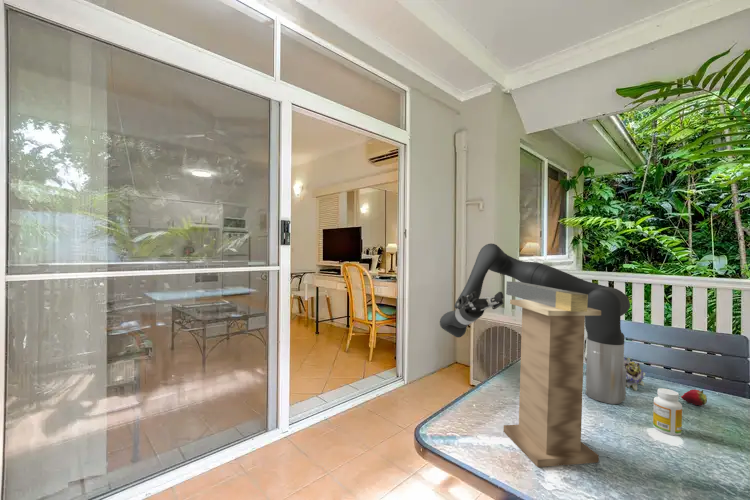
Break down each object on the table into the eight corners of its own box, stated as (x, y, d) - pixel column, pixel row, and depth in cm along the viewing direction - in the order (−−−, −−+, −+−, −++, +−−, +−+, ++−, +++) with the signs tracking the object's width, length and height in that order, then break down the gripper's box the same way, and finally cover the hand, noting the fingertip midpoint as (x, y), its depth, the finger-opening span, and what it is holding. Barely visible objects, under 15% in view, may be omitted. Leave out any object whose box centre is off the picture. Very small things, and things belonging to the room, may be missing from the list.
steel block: (518, 294, 90) (518, 281, 90) (587, 311, 66) (587, 294, 66) (505, 294, 90) (506, 281, 90) (570, 311, 66) (571, 294, 66)
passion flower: (633, 406, 106) (627, 381, 102) (599, 386, 116) (593, 363, 112) (655, 384, 109) (650, 359, 104) (620, 367, 119) (614, 343, 114)
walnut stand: (554, 427, 82) (558, 299, 82) (600, 463, 69) (605, 310, 68) (502, 430, 80) (506, 299, 80) (539, 468, 66) (543, 310, 66)
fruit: (685, 399, 101) (686, 382, 101) (711, 408, 95) (712, 390, 95) (677, 400, 99) (677, 384, 99) (702, 410, 94) (703, 392, 94)
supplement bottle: (674, 426, 84) (675, 388, 84) (686, 438, 79) (687, 397, 79) (648, 422, 86) (650, 385, 86) (658, 433, 81) (660, 394, 81)
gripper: (448, 301, 118) (465, 283, 104) (485, 301, 120) (507, 283, 106) (451, 321, 114) (469, 305, 100) (490, 321, 116) (513, 305, 102)
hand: (488, 294), depth 103 cm, fingers open, 8 cm apart
